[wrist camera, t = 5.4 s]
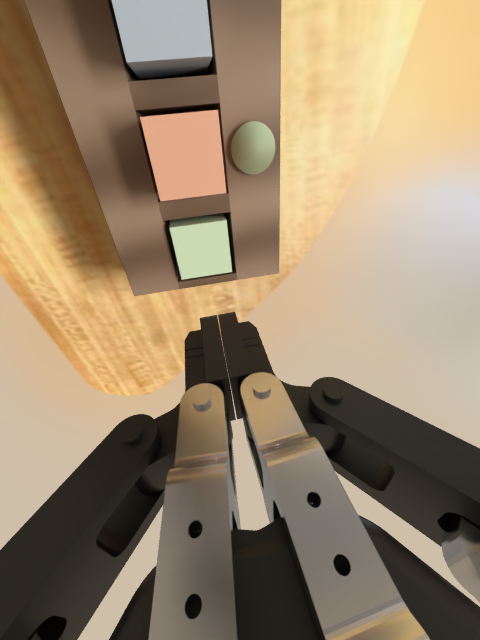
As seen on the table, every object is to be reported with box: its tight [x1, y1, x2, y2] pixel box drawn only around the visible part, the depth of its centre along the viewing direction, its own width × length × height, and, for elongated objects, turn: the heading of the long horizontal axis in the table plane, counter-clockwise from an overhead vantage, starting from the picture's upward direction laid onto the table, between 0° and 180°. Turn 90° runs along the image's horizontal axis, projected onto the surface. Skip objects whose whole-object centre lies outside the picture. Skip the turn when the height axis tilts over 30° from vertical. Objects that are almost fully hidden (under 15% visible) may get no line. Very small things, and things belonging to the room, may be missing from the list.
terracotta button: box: [140, 110, 226, 201], centre depth 16 cm, size 4×4×4 cm
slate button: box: [112, 0, 212, 79], centre depth 13 cm, size 4×4×4 cm
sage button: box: [169, 213, 232, 280], centre depth 21 cm, size 4×4×4 cm
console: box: [24, 0, 281, 296], centre depth 18 cm, size 18×12×5 cm, turn 5°
